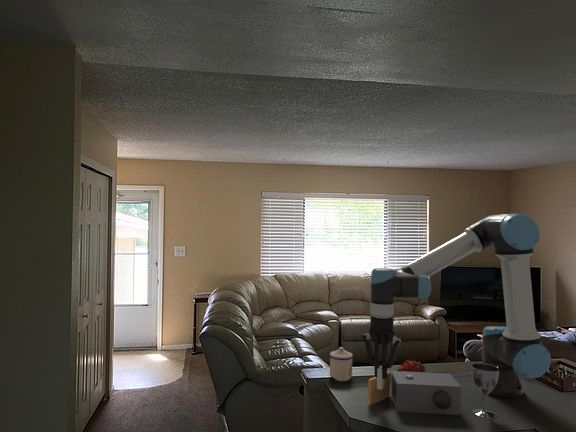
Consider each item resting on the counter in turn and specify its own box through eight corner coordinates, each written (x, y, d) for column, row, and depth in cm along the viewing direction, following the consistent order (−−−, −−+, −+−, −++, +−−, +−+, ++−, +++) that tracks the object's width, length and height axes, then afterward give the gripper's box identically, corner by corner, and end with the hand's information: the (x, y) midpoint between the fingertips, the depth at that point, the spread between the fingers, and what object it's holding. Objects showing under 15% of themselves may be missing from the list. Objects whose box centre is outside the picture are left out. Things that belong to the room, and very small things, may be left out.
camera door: (386, 394, 153) (386, 370, 153) (390, 395, 152) (390, 371, 152) (366, 403, 145) (367, 379, 145) (370, 405, 144) (370, 380, 144)
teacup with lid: (354, 382, 165) (354, 351, 166) (330, 381, 165) (331, 350, 165) (349, 371, 177) (350, 342, 178) (327, 370, 177) (327, 342, 177)
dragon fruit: (428, 385, 168) (398, 390, 167) (419, 366, 175) (391, 371, 174) (432, 372, 163) (401, 377, 162) (422, 353, 170) (393, 358, 169)
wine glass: (496, 411, 142) (497, 364, 142) (499, 421, 134) (500, 372, 135) (470, 407, 145) (470, 361, 145) (472, 417, 137) (472, 369, 137)
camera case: (450, 399, 150) (450, 372, 150) (462, 417, 137) (462, 386, 137) (390, 396, 152) (391, 369, 152) (397, 413, 138) (397, 383, 139)
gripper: (404, 316, 143) (403, 388, 143) (367, 311, 150) (366, 380, 149) (397, 320, 137) (396, 396, 136) (358, 315, 143) (357, 387, 143)
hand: (380, 387), depth 143 cm, fingers closed
